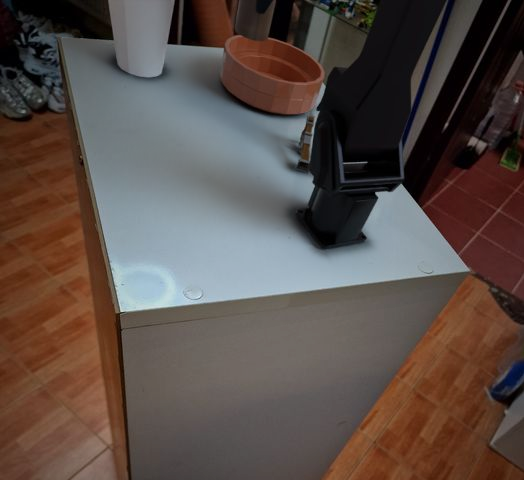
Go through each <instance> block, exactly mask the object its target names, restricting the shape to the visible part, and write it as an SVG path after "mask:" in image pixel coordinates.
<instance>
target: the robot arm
mask: <svg viewBox="0 0 524 480" xmlns="http://www.w3.org/2000/svg"><path fill="white" fill-rule="evenodd" d="M272 1H273V0H256V12H257V13H260V14H264V13H265V12H266V11H267V9H268V8H269V6H270V4H271V3H272ZM447 1H448V0H380V1H379V3H378V6H377V9H376V11H375V13H374V16H373V19H372V22H371V24H370V26H369V27H370V28H369V30H368V32H367V36H366V38H365V41H364V43H363V47H362V49H361V51H360V53H359V55H358V57H357V58H356V59H354V61H353V62H352V63H351V64H350V65H348V67H344V66H343V67H342V66H334V67H333V68H332V69H331V71H330V72H329V74H328V76H327V78H326V83H325V86H324V87H325V88H324V92H323V94H322V97H321V99H320V101H319V103H318V105H317V106H316V108H315V111H316V112H318V114H317V116H316V120H315V122H314V126H313V128H314V129H313V133H312V141H311V151H310V156H309V161H310V165H309V173H310V174H311V176H312V181H311V183H312V184H313V186H314V187H313V189H312V192H311V195H310V198H309V200H308V202H307V206H308V207H304V208H298V209H297V210H296V211H295V216H296V217H297V218H298V220H299V221H300V222H301V223H302V225H303V226H304V228H305V229H306V230H307V231H308V232H309V234H310V235H311V236H312V238H313V239H314V241H315V242H316V243H317V245H318V246H319V247H320V248H321V249H323V250H329V249H335V248H341V247H344V246H345V247H346V246H351V245H356V244H362V243H365V242H367V239H368V237H367V236H366V235H365V233H364V232H363V228H364V227H365V225H366V223H367V221H368V220H369V217H370V215H371V214H372V211H373V209H374V208H375V206H376V204H377V202H378V200H379V196H378V195H377V194H376V193H383V192H387V193H393V192H394V191H396V190H397V188H398V187H399V186H401V185H402V184H403V183H404V181H405V167H404V166H405V165H404V149H403V135H404V132H405V129H406V127H407V124H408V121H409V119H410V116H411V113H412V108H413V107H412V106H413V105H412V104H413V103H412V101H413V100H412V99H413V98H412V77H413V75H414V74H413V73H414V71H415V69H416V67H417V65H418V62H419V60H420V58H421V57H422V55H423V52H424V49H425V48H426V46H427V44H428V42H429V39H430V38H431V36H432V33H433V31H434V29H435V26H436V24H437V23H438V20H439V18H440V17H441V14H442V12H443V10H444V7H445V5H446V3H447Z"/></svg>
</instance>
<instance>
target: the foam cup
mask: <svg viewBox="0 0 524 480" xmlns="http://www.w3.org/2000/svg"><path fill="white" fill-rule="evenodd" d="M175 1H176V0H107V2H108V8H109V9H108V10H109V15H110V22H111V28H112V29H111V30H112V37H113V42H114V49H115V50H114V51H115V58H116V61H117V63H116V64H117V66H118V67H119V68H120V69H121V70H122V71H124V72H126V73H128V74H129V75H133V76H136V77H141V78H154V77H158V76H160V75H161V74H162V73H163V69H164V65H165V59H166V53H167V46H168V43H169V37H170V36H169V35H170V29H171V25H172V20H173V19H172V17H173V13H174V7H175Z"/></svg>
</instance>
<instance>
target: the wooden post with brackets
mask: <svg viewBox="0 0 524 480" xmlns="http://www.w3.org/2000/svg"><path fill="white" fill-rule="evenodd" d="M315 119H316V116H315V115H314V114H313V113H312V112H308V114H307V117H306V118H305V120H306V121H305V125H304V127H303V130H302V131H301V133H300V137H299V143H298V145H297V146H299V147H298V151H297V152H298V153H299V154H300V158H298V161H297V163H296V165H295V170H296V171H300V172H305V173H310V171H309V165H310V147H311V146H312V139H313V133H312V131H313V128H314V126H315Z"/></svg>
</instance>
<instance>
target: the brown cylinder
mask: <svg viewBox="0 0 524 480" xmlns="http://www.w3.org/2000/svg"><path fill="white" fill-rule="evenodd" d="M276 3H277V0H273V1H272V3H271V4H270V6H269V8H268V9H267V11H266V12H265V13H264V14H260V13H257V12H256V0H238V6H237V10H236V11H237V12H236V18H235V24H234V30H235V32H236V33H237V34H238V35H241V36H243V37H245V38H247V39H250V40H254V41H266V40H267V39H268V38H269V35H270V30H271V25H272V21H273V18H274V17H273V16H274V13H275V8H276Z"/></svg>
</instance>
